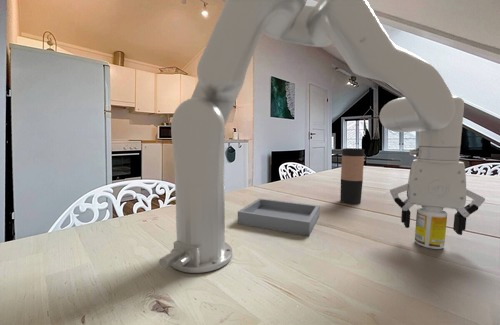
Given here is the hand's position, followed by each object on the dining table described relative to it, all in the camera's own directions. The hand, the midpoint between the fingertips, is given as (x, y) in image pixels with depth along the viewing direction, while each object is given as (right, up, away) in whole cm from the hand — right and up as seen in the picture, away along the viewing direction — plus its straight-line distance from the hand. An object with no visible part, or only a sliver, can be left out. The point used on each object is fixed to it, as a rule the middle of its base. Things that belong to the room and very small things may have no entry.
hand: (431, 229), depth 56 cm
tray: (-33, -2, +16) cm, 36 cm away
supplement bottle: (0, -4, 0) cm, 4 cm away
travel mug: (-3, 0, +37) cm, 37 cm away
